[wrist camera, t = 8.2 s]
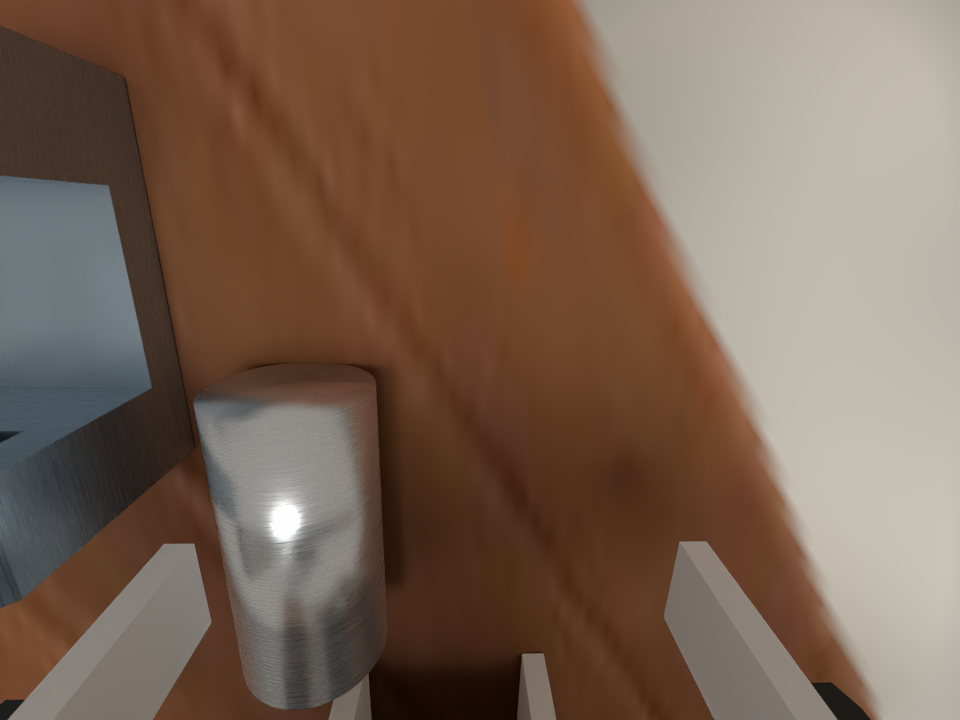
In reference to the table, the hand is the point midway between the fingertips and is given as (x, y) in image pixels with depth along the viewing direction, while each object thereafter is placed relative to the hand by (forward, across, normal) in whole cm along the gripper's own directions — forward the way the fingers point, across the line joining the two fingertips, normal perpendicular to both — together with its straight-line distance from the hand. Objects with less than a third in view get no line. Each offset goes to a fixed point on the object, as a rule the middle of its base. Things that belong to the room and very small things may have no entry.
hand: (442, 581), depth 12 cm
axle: (+2, +2, 0) cm, 3 cm away
